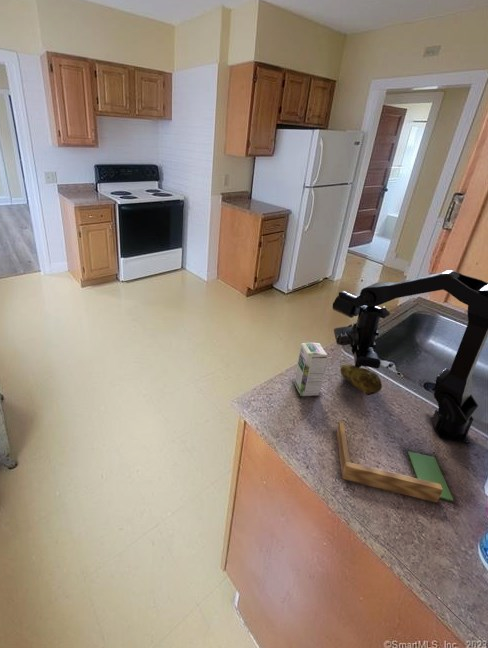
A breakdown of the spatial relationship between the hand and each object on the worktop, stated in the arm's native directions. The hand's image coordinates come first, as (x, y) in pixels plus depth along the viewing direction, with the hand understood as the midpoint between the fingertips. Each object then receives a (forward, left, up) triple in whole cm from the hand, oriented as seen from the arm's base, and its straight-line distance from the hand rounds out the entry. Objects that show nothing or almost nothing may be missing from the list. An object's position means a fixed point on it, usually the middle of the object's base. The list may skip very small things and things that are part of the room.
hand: (356, 367), depth 100 cm
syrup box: (+15, +11, -3) cm, 19 cm away
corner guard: (-1, +31, -3) cm, 31 cm away
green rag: (-10, +31, -3) cm, 33 cm away
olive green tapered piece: (0, +6, -3) cm, 7 cm away
